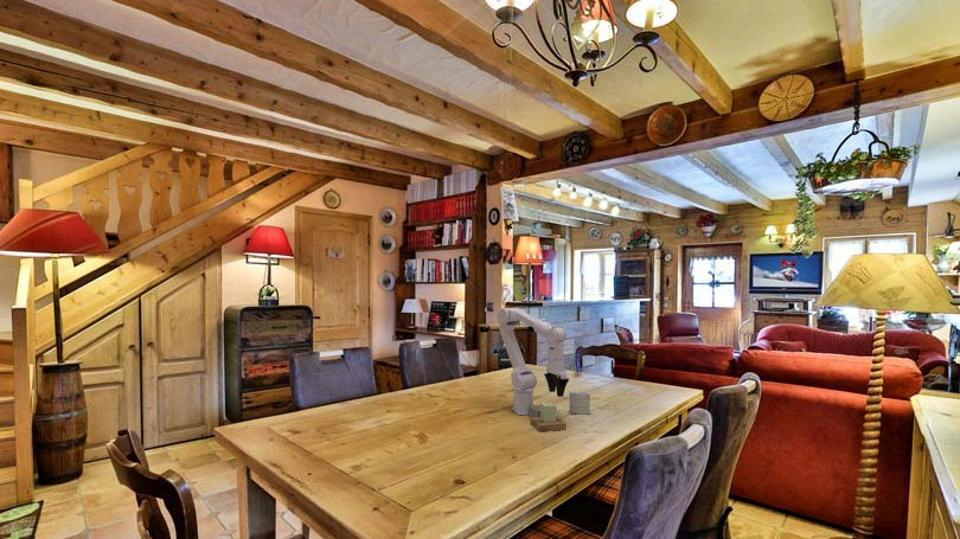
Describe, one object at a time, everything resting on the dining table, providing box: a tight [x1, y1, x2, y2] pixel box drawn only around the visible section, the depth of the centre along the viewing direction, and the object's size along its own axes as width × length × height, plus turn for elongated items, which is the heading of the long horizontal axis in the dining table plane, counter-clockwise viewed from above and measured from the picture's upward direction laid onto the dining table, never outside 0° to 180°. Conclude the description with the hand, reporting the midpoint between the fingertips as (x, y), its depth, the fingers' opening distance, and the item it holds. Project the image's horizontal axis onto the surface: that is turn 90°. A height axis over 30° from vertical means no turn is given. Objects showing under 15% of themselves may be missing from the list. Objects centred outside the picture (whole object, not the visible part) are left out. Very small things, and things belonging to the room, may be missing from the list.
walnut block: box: [529, 416, 567, 433], centre depth 163 cm, size 10×10×3 cm
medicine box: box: [568, 390, 591, 415], centre depth 181 cm, size 8×4×9 cm, turn 84°
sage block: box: [540, 402, 557, 423], centre depth 163 cm, size 4×4×6 cm
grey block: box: [528, 404, 541, 417], centre depth 175 cm, size 7×7×4 cm
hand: (556, 394), depth 170 cm, fingers open, 7 cm apart
